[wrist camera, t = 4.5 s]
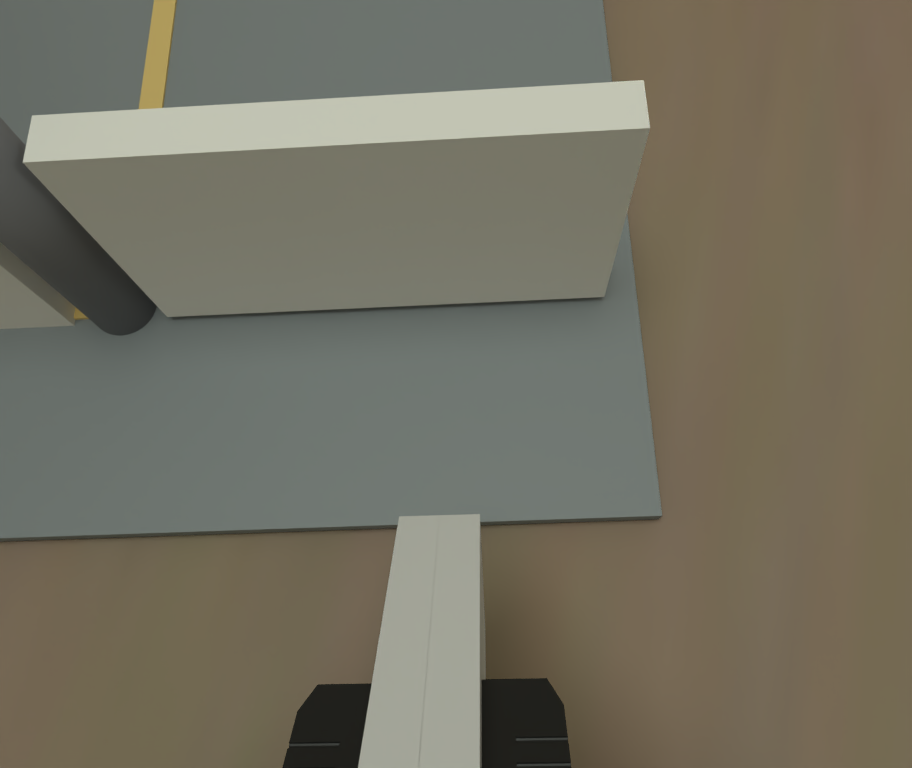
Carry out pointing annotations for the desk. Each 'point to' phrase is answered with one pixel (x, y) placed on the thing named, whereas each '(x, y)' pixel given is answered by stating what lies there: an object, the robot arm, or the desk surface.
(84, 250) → the fence
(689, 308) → the desk surface
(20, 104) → the card
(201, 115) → the hinged panel
